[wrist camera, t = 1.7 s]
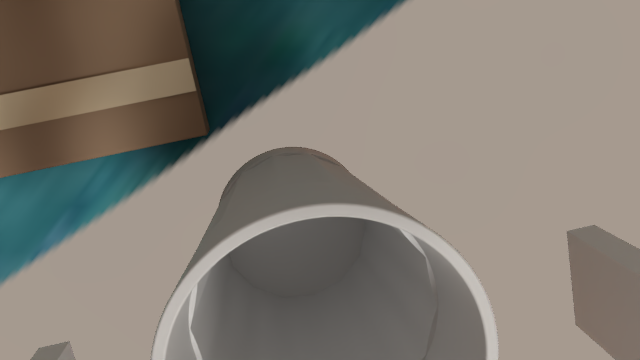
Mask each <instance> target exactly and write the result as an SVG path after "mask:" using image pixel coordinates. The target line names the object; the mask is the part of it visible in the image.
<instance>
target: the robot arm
mask: <svg viewBox="0 0 640 360" xmlns="http://www.w3.org/2000/svg"><path fill="white" fill-rule="evenodd" d="M567 238H568V249H569V259H570V270H571V280H572V291H573V302H574V313H575V323H576V325H577V326H578V327H579V328H580V329H581V330H582V331H584V332H585V333H586V334H587V335H588V336H589V337H590V338H591V339H593V340H594V341H595V342H596V343H597V344H599V345H600V346H601V347H602V348H603V349H604V350H605V351H606V352H607V353H608V354H610V355H611V356H612V357H613V358H614V359H615V360H640V249H638V248H636V247H634V246H633V245H631V244H629V243H627V242H625V241H623V240H621V239H619V238H617V237H616V236H614V235H612V234H610V233H608V232H606V231H605V230H603V229H601V228H599V227H597V226H595V225H592V226H588V227H583V228H579V229H575V230H570V231H567ZM31 360H75V357H74V354H73V351H72V348H71V345H70V342H64V343H60V344H55V345H51V346H46V347H42V348H39V349H38V350H37V351H36V353H35V354H34V356H33V357H32V358H31Z"/></svg>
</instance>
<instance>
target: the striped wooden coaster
mask: <svg viewBox="0 0 640 360" xmlns="http://www.w3.org/2000/svg"><path fill="white" fill-rule="evenodd" d="M209 130H210V128H209V124H208V120H207V116H206V112H205V107H204V103H203V99H202V95H201V91H200V87H199V82H198V78H197V74H196V70H195V66H194V62H193V57H192V53H191V49H190V45H189V41H188V37H187V32H186V28H185V24H184V20H183V16H182V11H181V7H180V3H179V0H0V178H1V177H6V176H11V175H16V174H21V173H25V172H30V171H35V170H40V169H45V168H50V167H54V166H59V165H64V164H69V163H74V162H79V161H83V160H88V159H93V158H98V157H103V156H108V155H112V154H117V153H122V152H127V151H132V150H137V149H141V148H146V147H151V146H156V145H161V144H166V143H170V142H175V141H180V140H185V139H190V138H195V137H199V136H204V135H207V134H208V132H209Z"/></svg>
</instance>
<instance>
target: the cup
mask: <svg viewBox="0 0 640 360" xmlns="http://www.w3.org/2000/svg"><path fill="white" fill-rule="evenodd" d="M498 349H499V348H498V335H497V327H496V321H495V317H494V313H493V310H492V307H491V303H490V301H489V298H488V296H487V293H486V291H485V289H484V287H483V285H482V283H481V281H480V280H479V278H478V276H477V275H476V273H475V272H474V270H473V269H472V267H471V266H470V265H469V263H468V262H467V261H466V259H465V258H464V257H463V256H462V255H461V254H460V253H459V252H458V251H457V250H456V249H455V248H454V247H453V246H452V245H451V244H450V243H449V242H448V241H446V240H445V239H444V238H443V237H441V236H440V235H439V234H437V233H436V232H435V231H433V230H432V229H430V228H428V227H427V226H426V225H424V224H423V223H421V222H419V221H418V220H416V219H415V218H413V217H412V216H410V215H409V214H407V213H406V212H404V211H403V210H401V209H400V208H398V207H397V206H395V205H394V204H392V203H391V202H390V201H388V200H387V199H385V198H384V197H383V196H381V195H380V194H379V193H377V192H376V191H374V190H373V189H371V188H370V187H369V186H367V185H366V184H365V183H363V182H362V181H360V180H359V179H358V178H356V177H355V176H353V175H352V174H351V173H350V172H349V171H348V170H347V169H346V168H345V167H344V166H343V165H342V164H340V163H339V162H338V161H336V160H335V159H333V158H332V157H330V156H328V155H326V154H324V153H321V152H319V151H316V150H312V149H308V148H302V147H285V148H279V149H274V150H271V151H267V152H265V153H263V154H260V155H258V156H256V157H254V158H253V159H251V160H250V161H248V162H247V163H246V164H244V165H243V166H242V167H241V168H240V169H239V170H238V171H237V172H236V173H235V174H234V175H233V177H232V178H231V180H230V181H229V182H228V184H227V186H226V187H225V190H224V191H223V194H222V196H221V199H220V203H219V207H218V209H217V211H216V213H215V215H214V217H213V219H212V221H211V223H210V225H209V227H208V229H207V231H206V233H205V234H204V236H203V238H202V240H201V242H200V244H199V246H198V248H197V250H196V252H195V254H194V255H193V257H192V259H191V261H190V263H189V265H188V266H187V268H186V270H185V272H184V273H183V275H182V277H181V279H180V281H179V282H178V284H177V286H176V288H175V290H174V291H173V293H172V295H171V297H170V299H169V301H168V302H167V305H166V306H165V308H164V311H163V313H162V315H161V318H160V321H159V324H158V327H157V330H156V333H155V337H154V341H153V346H152V352H151V360H498Z"/></svg>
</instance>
